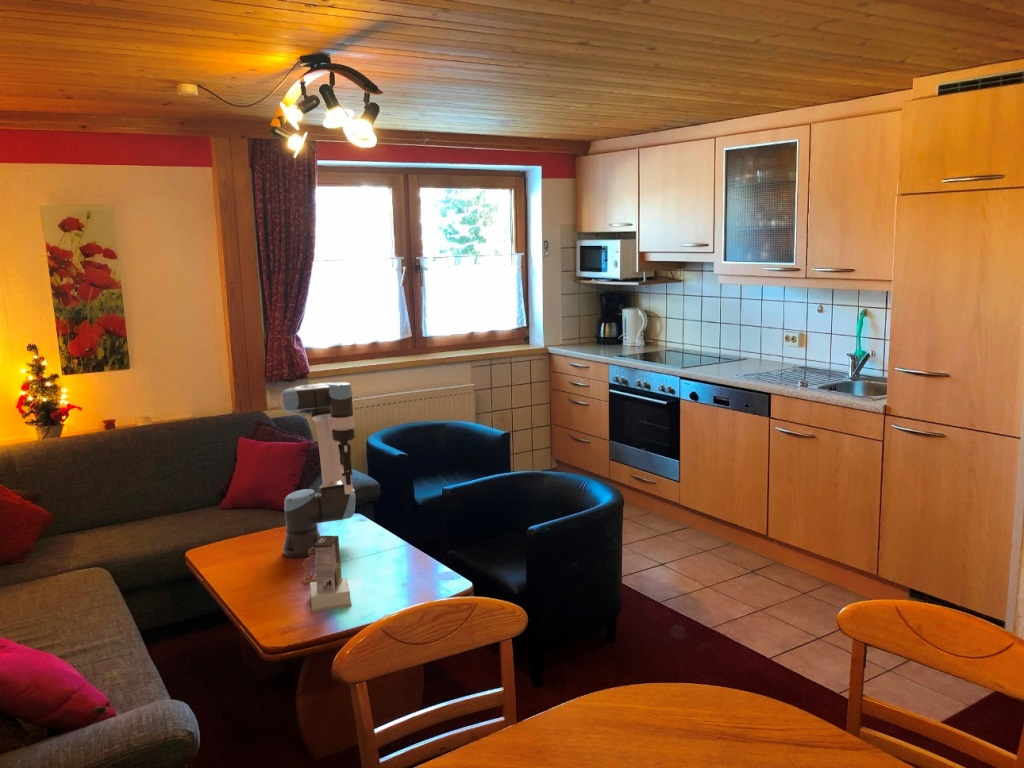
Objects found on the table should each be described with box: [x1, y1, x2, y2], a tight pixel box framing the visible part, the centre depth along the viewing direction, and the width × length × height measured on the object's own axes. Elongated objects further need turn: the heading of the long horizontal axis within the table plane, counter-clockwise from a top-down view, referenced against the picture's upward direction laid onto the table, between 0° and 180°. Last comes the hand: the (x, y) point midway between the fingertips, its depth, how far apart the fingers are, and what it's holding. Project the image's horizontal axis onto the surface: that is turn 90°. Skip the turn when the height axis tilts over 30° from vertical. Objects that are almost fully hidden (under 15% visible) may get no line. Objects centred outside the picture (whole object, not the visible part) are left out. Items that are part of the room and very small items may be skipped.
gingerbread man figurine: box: [301, 547, 316, 586], centre depth 285 cm, size 9×4×12 cm, turn 121°
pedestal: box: [309, 577, 353, 613], centre depth 268 cm, size 13×13×5 cm
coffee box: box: [314, 535, 343, 593], centre depth 266 cm, size 9×6×16 cm
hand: (347, 488), depth 282 cm, fingers open, 13 cm apart
